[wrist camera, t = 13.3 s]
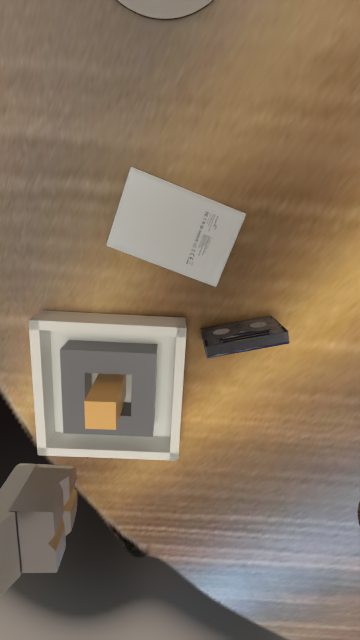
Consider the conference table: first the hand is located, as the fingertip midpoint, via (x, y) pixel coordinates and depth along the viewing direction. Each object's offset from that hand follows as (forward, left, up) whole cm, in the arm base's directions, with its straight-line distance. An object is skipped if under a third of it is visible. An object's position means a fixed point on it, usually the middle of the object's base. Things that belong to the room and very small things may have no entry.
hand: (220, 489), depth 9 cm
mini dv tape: (+4, +6, -29) cm, 30 cm away
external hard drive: (-7, -2, -30) cm, 30 cm away
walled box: (+11, -8, -29) cm, 32 cm away
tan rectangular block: (+11, -8, -28) cm, 31 cm away
